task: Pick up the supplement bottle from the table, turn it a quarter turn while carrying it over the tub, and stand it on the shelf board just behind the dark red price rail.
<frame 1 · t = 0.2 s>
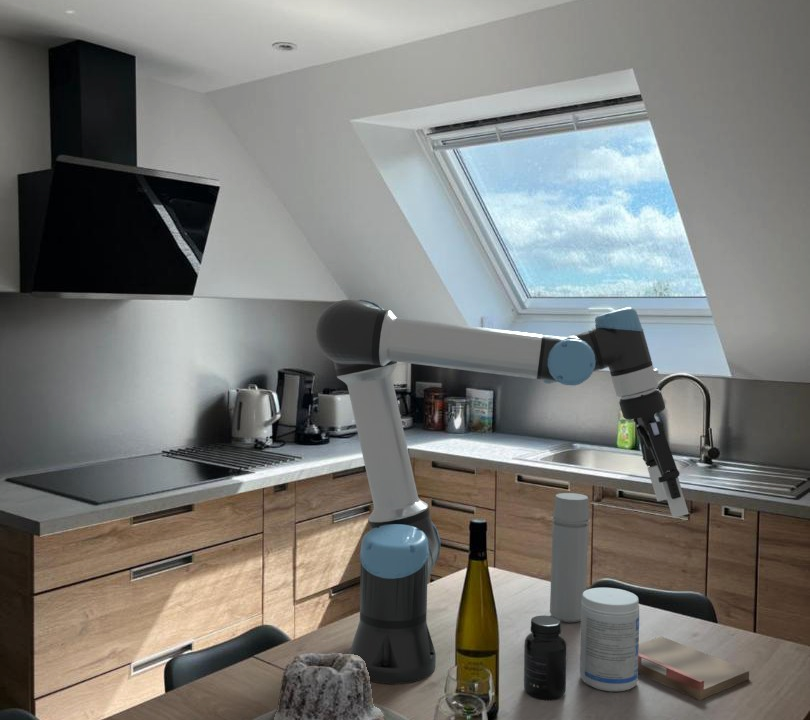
hand: (672, 507, 150), 28 cm above the table, tool tilted 20°, fingers open, 13 cm apart
supplement bottle: (544, 693, 137), on the table
shelf: (678, 670, 146), on the table
water bottle: (567, 616, 172), on the table
supplement tub: (607, 682, 142), on the table
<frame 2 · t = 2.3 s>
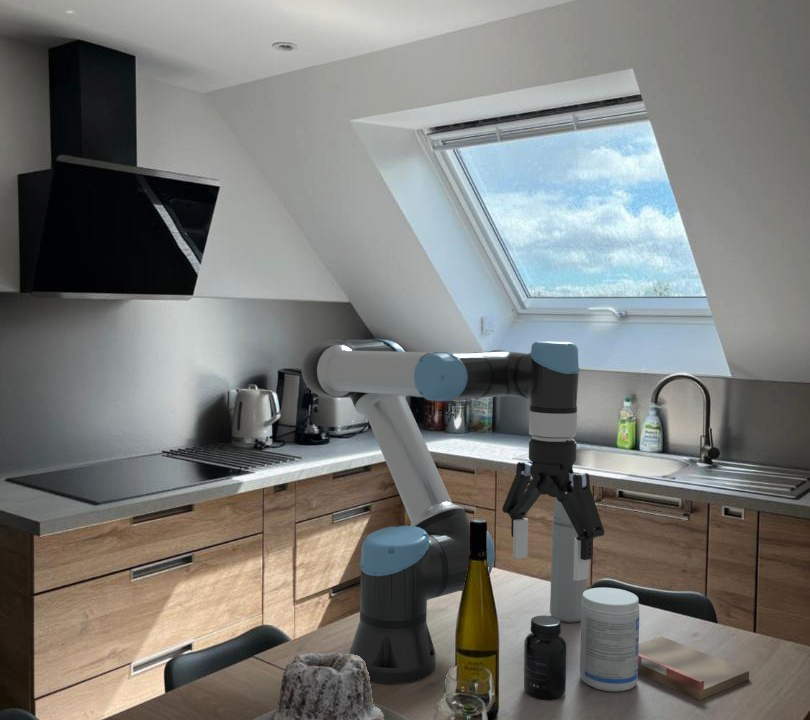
hand: (549, 568, 135), 21 cm above the table, tool pointing down, fingers open, 13 cm apart
nothing on the table moved.
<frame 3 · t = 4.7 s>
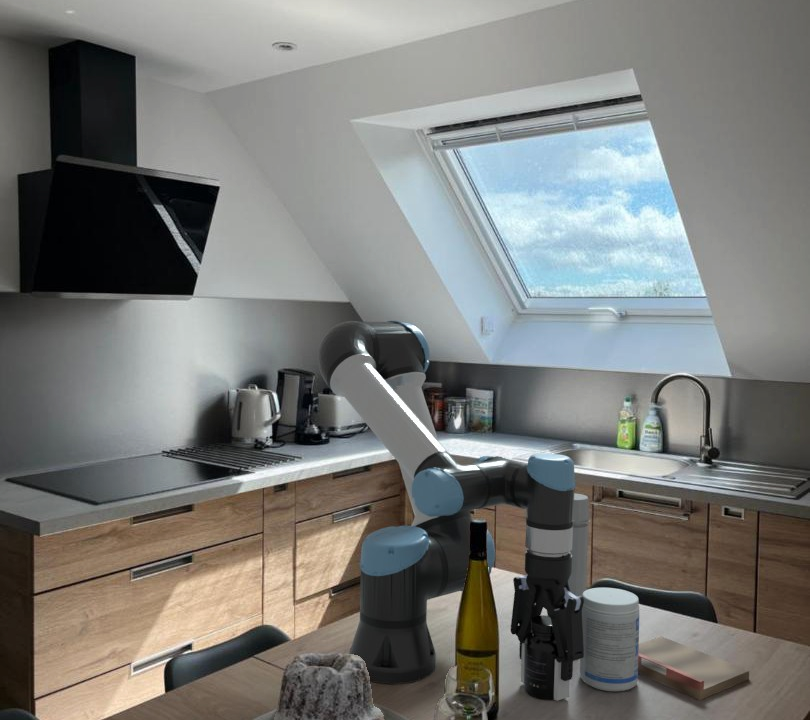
hand: (544, 688, 137), 1 cm above the table, tool pointing down, fingers closed on supplement bottle, 7 cm apart
supplement bottle: (544, 693, 137), on the table, touching gripper
everything else where it was.
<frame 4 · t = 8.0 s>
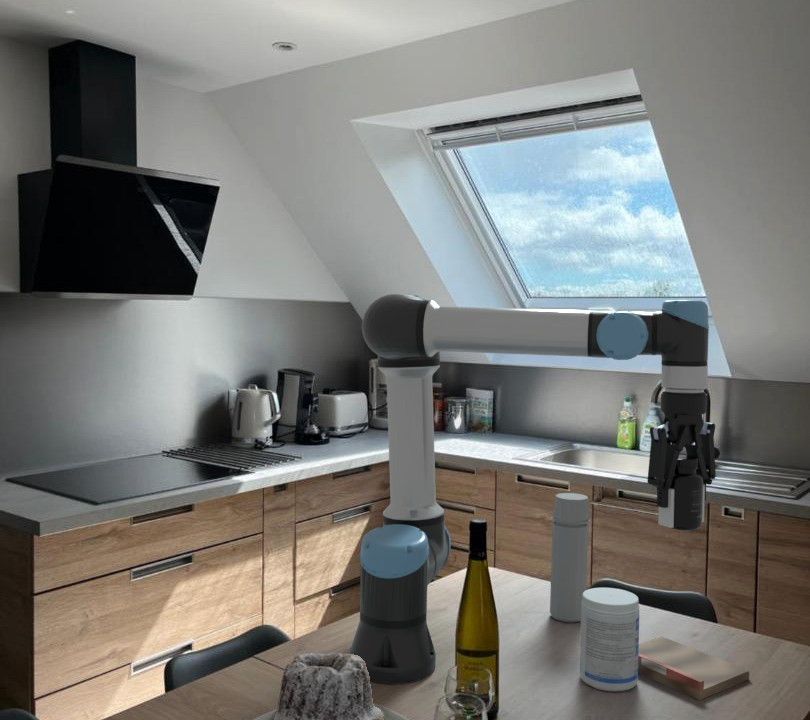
hand: (681, 522, 144), 26 cm above the table, tool pointing down, fingers closed on supplement bottle, 7 cm apart
supplement bottle: (681, 527, 144), point 26 cm above the table, touching gripper
everything else where it was.
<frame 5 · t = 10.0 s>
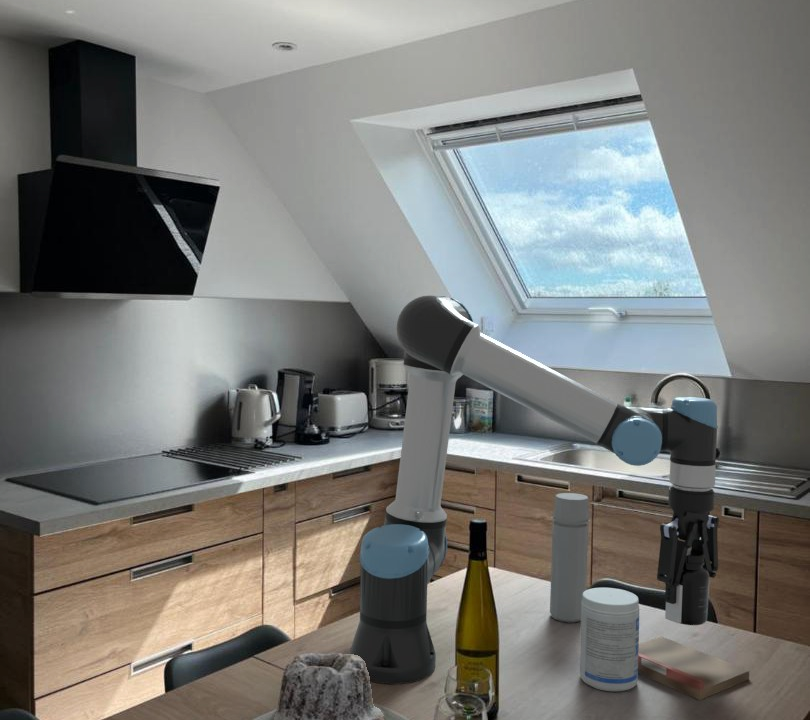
hand: (686, 616, 147), 9 cm above the table, tool pointing down, fingers closed on supplement bottle, 7 cm apart
supplement bottle: (686, 620, 147), point 9 cm above the table, touching gripper
everything else where it was.
when the fingers open (4 cm above the table, at t = 11.5 s): supplement bottle moves 3 cm, point 5 cm above the table.
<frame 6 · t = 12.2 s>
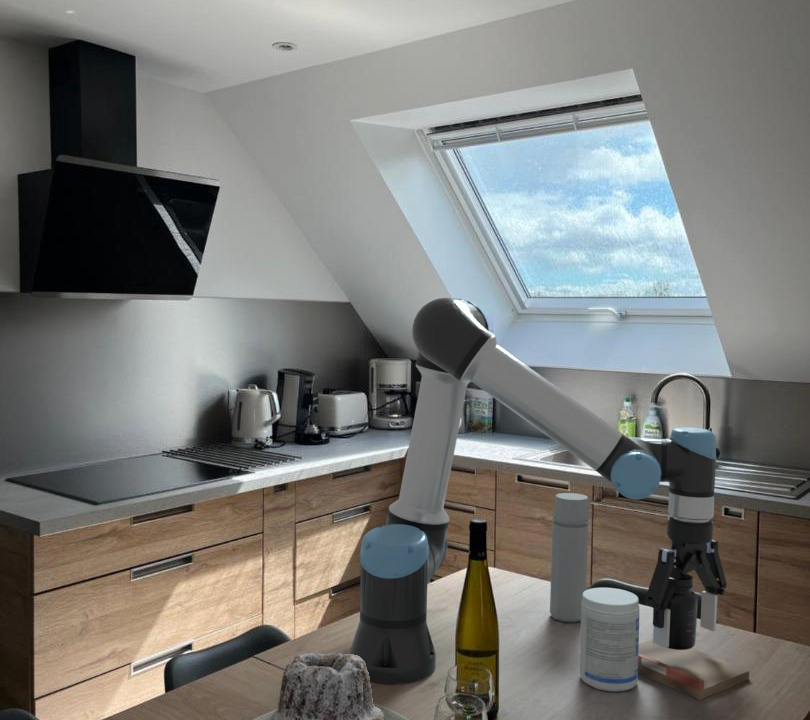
hand: (685, 636, 147), 6 cm above the table, tool pointing down, fingers open, 13 cm apart
supplement bottle: (674, 644, 145), point 5 cm above the table, touching gripper
everything else where it was.
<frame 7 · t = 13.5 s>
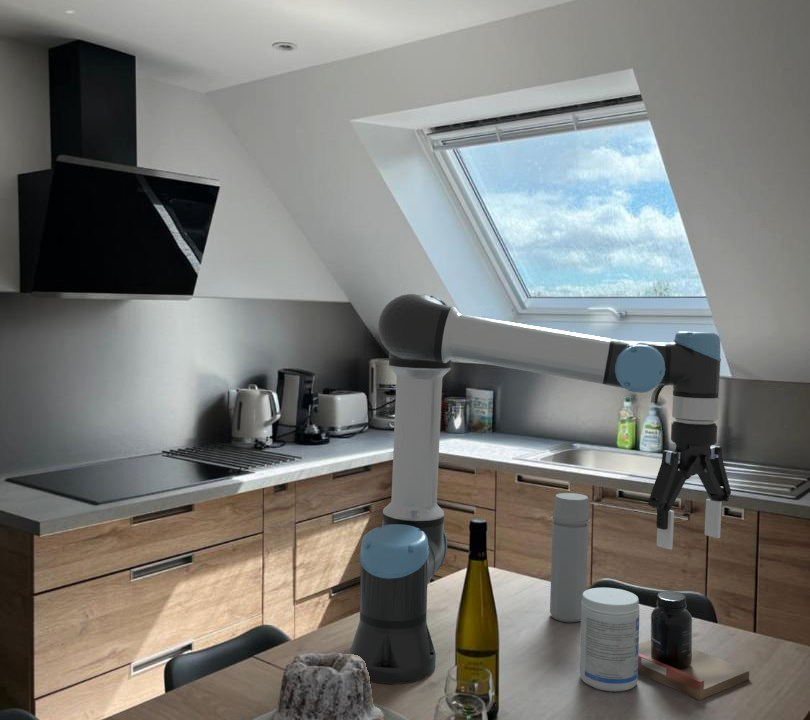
hand: (689, 541, 146), 23 cm above the table, tool pointing down, fingers open, 13 cm apart
supplement bottle: (671, 663, 146), point 2 cm above the table, touching shelf
everything else where it was.
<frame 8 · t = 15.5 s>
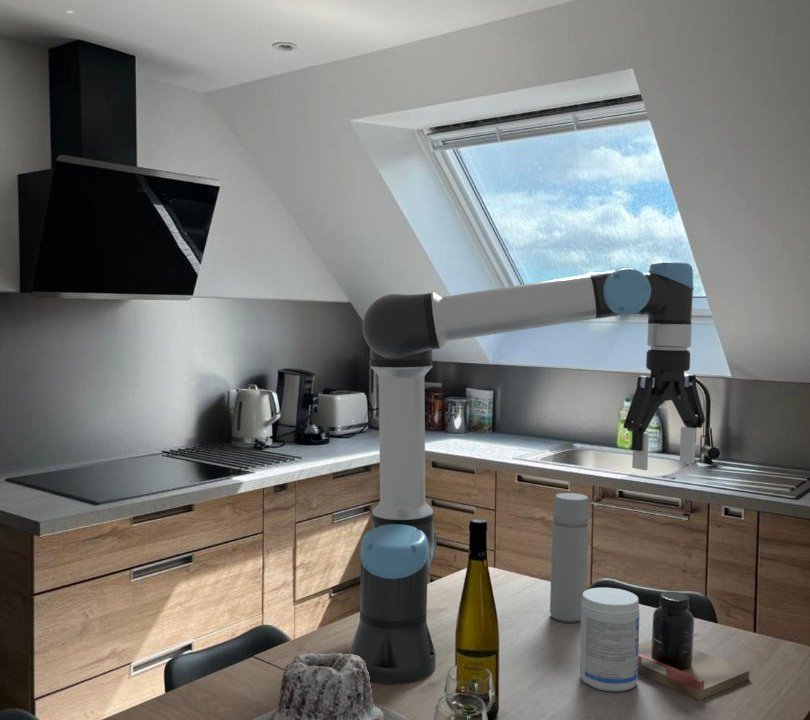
hand: (663, 465, 152), 35 cm above the table, tool pointing down, fingers open, 13 cm apart
nothing on the table moved.
at the end: supplement bottle inside the target area on the shelf (2.7 cm from its centre), point 1.3 cm above the shelf's base; supplement bottle tilted 0°; the gripper is holding nothing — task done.
